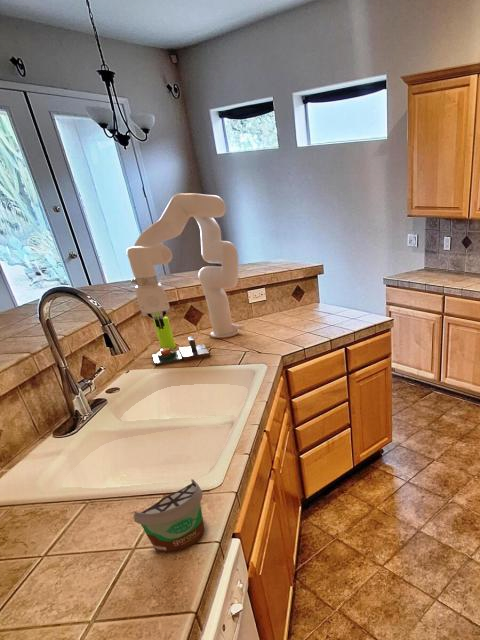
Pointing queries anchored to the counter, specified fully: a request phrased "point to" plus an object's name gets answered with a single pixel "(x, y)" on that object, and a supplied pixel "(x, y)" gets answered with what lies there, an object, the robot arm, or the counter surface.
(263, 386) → the counter surface
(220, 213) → the robot arm
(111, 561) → the counter surface
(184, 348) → the panel
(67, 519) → the counter surface
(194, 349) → the black block
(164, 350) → the button
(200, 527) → the food container
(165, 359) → the button box
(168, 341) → the soap dispenser
